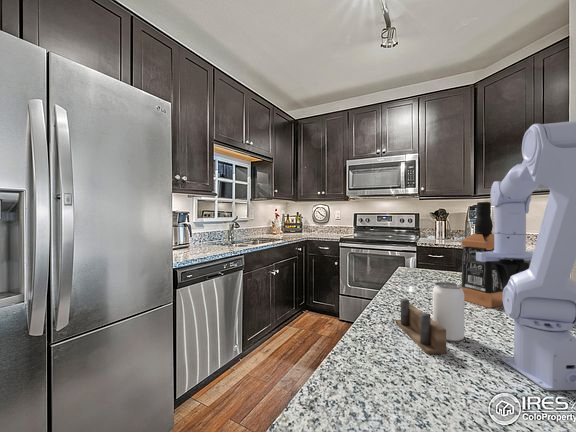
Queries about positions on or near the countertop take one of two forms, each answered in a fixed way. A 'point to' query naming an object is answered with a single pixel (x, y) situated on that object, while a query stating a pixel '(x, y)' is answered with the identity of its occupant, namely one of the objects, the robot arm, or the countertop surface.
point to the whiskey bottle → (480, 263)
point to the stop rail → (422, 329)
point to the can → (449, 309)
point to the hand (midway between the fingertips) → (509, 292)
